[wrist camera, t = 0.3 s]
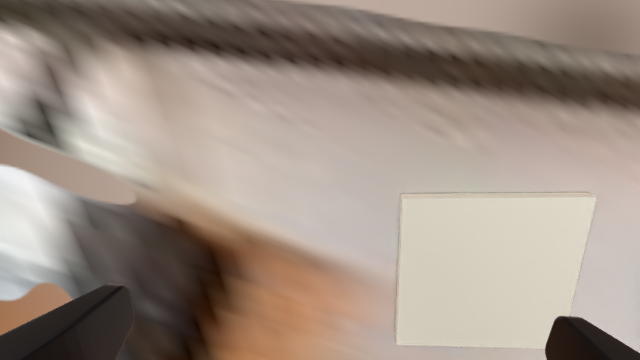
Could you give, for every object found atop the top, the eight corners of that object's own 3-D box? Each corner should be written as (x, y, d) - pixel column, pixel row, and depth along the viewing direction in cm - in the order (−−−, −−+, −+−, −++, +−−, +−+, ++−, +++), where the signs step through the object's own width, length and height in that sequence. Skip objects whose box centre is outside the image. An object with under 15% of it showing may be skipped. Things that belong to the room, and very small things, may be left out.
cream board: (554, 340, 24) (561, 349, 23) (394, 336, 25) (396, 345, 24) (587, 192, 21) (596, 197, 20) (400, 194, 21) (402, 198, 21)
